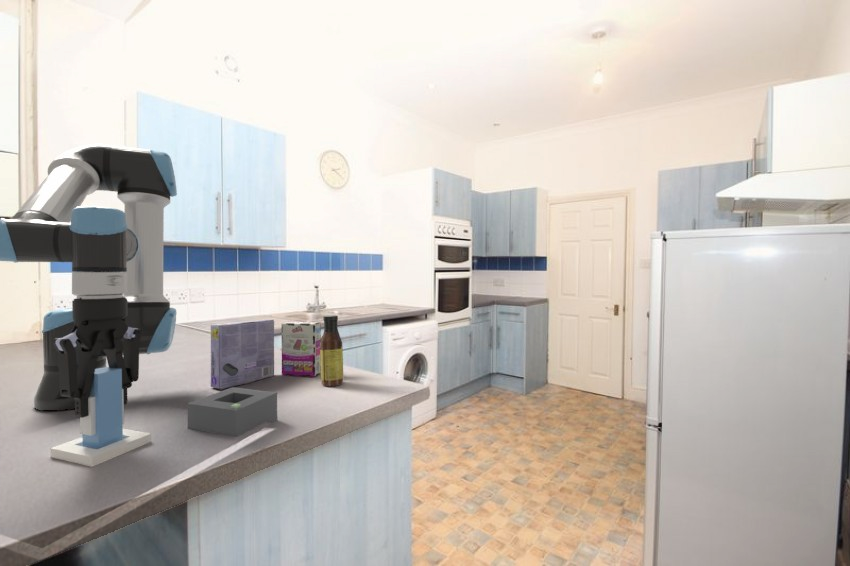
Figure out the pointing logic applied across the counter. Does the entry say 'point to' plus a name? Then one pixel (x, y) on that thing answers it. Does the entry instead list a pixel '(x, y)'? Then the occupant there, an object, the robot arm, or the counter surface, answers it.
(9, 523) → the counter surface
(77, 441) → the holster
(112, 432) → the plug
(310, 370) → the candy bar box
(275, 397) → the port
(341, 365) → the sauce bottle
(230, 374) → the cake pan box
